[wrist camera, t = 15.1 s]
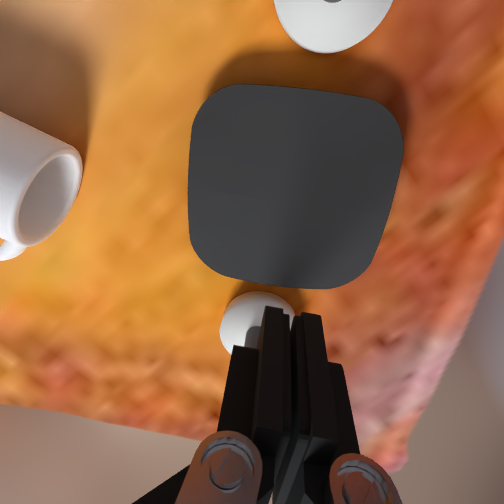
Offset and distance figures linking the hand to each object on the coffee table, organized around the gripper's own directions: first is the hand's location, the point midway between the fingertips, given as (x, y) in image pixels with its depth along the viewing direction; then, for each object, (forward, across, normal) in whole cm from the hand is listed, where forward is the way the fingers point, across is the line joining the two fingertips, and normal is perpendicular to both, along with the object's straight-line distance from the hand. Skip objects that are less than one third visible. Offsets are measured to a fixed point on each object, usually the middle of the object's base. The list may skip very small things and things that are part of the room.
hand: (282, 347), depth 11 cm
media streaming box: (+19, 0, +1) cm, 19 cm away
